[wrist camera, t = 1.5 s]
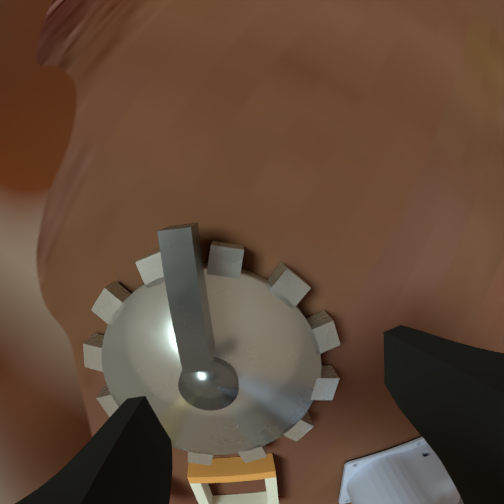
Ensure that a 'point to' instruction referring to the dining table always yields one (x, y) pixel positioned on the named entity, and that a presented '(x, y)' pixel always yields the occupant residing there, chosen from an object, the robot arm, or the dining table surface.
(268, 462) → the square open frame
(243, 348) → the sprocket
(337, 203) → the dining table surface
